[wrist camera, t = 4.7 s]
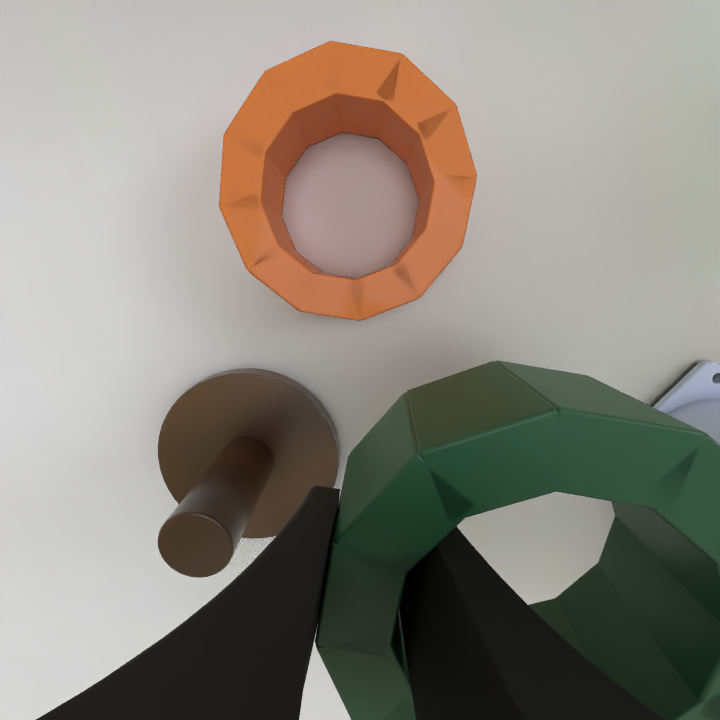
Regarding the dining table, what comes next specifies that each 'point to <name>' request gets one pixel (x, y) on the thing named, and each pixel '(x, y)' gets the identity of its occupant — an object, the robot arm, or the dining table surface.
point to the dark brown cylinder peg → (239, 464)
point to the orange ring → (323, 120)
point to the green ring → (522, 482)
